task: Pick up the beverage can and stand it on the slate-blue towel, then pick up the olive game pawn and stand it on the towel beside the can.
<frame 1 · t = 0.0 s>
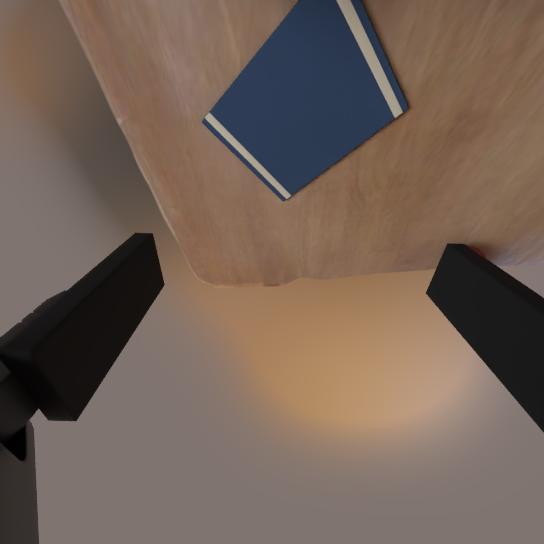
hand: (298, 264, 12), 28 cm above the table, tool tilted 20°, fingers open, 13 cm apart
towel: (302, 113, 32), on the table
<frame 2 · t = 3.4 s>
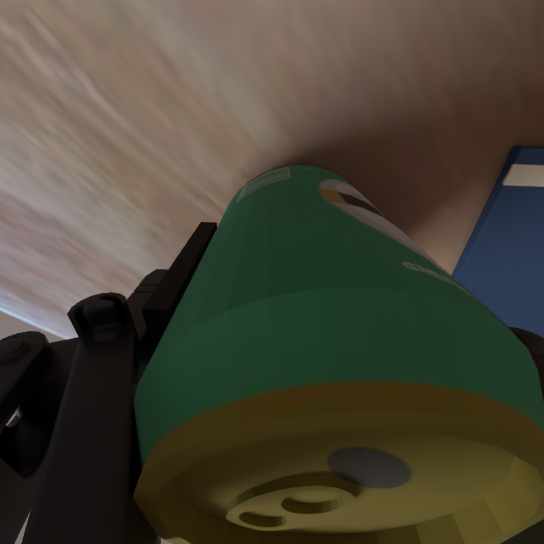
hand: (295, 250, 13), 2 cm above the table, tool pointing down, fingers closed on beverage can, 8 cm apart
beverage can: (293, 235, 15), on the table, touching gripper
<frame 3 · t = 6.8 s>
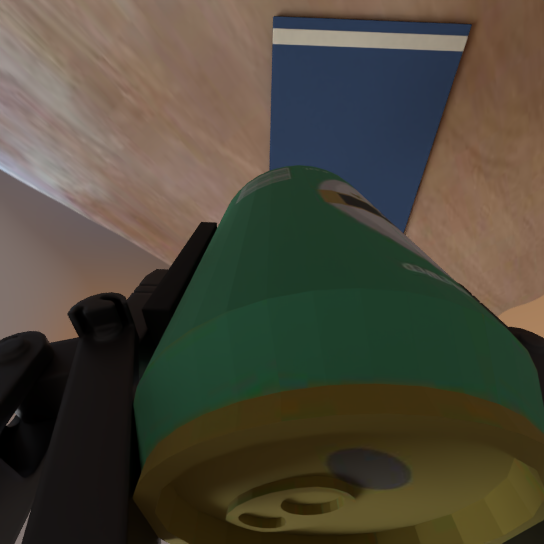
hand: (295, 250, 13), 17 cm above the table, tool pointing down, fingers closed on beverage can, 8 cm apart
towel: (348, 155, 26), on the table
beverage can: (293, 235, 15), point 15 cm above the table, touching gripper
when the fingers open (2 cm above the table, at t = 10.6 s): beverage can stays where it is, resting on towel.
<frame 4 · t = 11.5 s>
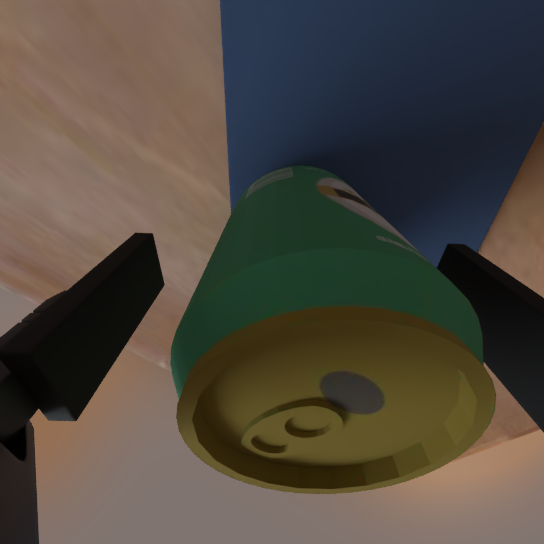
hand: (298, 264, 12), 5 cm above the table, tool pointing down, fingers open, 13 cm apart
towel: (371, 162, 14), on the table
beverage can: (295, 229, 16), resting on towel
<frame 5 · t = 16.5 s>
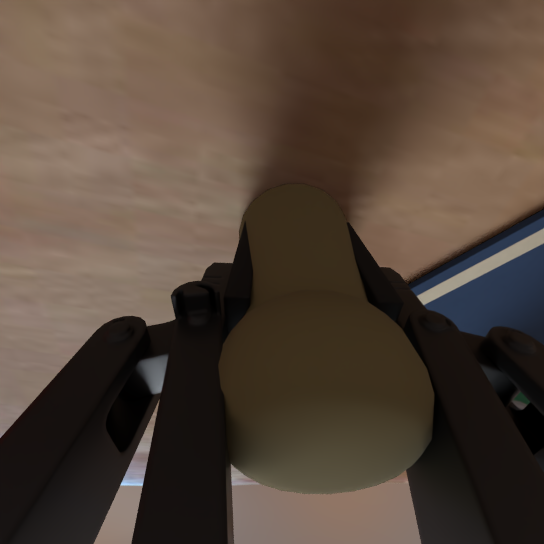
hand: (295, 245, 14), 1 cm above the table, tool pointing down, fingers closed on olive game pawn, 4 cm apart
towel: (496, 351, 19), on the table
olive game pawn: (292, 237, 14), on the table, touching gripper
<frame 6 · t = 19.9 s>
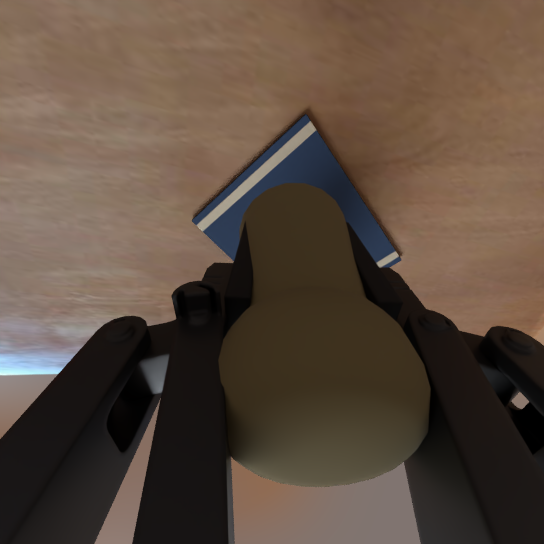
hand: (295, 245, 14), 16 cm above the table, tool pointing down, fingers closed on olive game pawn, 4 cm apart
towel: (300, 239, 30), on the table
olive game pawn: (292, 236, 15), point 14 cm above the table, touching gripper
when the fingers open (1 cm above the table, at t = 23.3 s): olive game pawn stays where it is, resting on towel.
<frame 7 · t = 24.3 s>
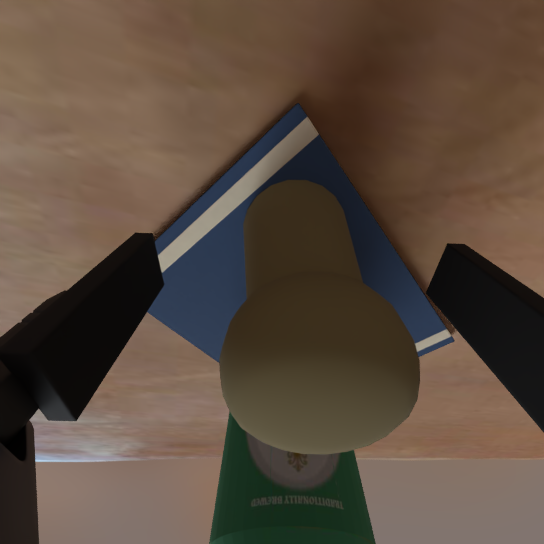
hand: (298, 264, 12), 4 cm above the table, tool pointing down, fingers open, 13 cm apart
towel: (292, 310, 19), on the table
olive game pawn: (293, 231, 15), resting on towel
beverage can: (284, 364, 22), resting on towel
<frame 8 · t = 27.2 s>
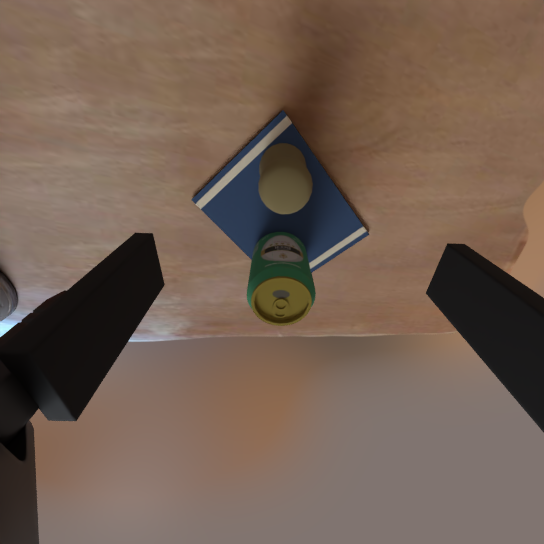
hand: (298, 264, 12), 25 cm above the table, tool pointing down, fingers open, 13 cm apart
towel: (283, 216, 36), on the table
olive game pawn: (282, 169, 33), resting on towel
beverage can: (279, 252, 39), resting on towel
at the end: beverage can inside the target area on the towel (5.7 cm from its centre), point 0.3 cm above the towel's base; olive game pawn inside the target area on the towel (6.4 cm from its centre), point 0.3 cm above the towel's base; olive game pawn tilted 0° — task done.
